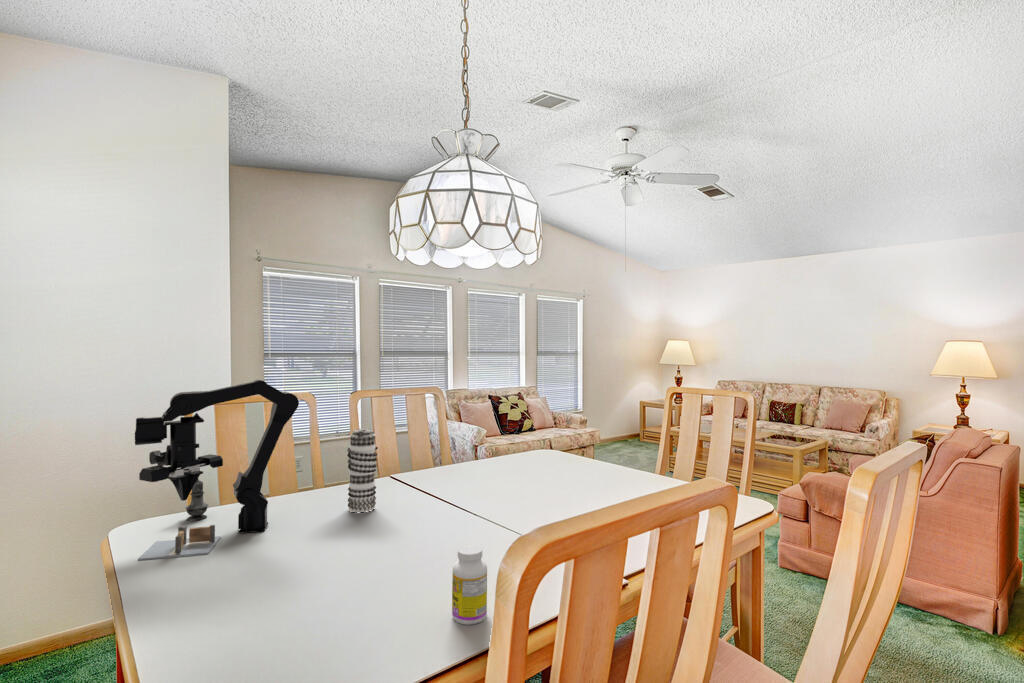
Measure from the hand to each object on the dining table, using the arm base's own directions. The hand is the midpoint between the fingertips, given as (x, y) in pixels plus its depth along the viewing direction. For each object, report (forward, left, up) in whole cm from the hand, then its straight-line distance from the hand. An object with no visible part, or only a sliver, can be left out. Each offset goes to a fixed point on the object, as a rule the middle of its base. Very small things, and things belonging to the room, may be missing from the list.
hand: (183, 500), depth 135 cm
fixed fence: (-4, +4, -11) cm, 12 cm away
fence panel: (-2, +8, -10) cm, 13 cm away
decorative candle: (-45, -16, -11) cm, 49 cm away
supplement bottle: (-65, +57, -11) cm, 87 cm away
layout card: (-1, +6, -11) cm, 12 cm away
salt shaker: (+2, -19, -11) cm, 22 cm away
